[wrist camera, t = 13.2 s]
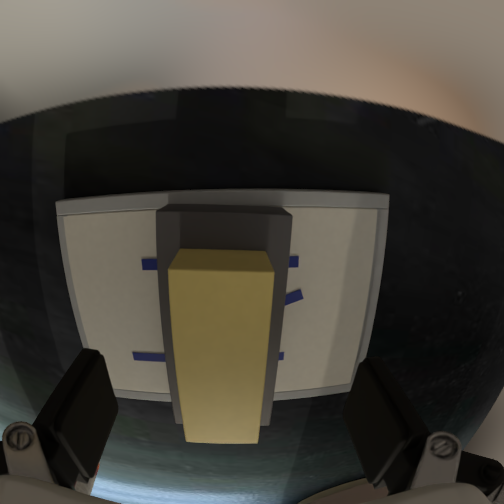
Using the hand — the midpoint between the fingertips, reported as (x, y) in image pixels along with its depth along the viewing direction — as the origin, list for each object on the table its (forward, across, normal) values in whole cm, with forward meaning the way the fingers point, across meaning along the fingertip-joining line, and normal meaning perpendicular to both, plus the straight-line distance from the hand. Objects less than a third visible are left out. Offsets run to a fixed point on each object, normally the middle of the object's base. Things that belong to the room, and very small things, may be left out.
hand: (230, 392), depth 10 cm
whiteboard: (+7, +1, 0) cm, 7 cm away
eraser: (+6, 0, 0) cm, 6 cm away
